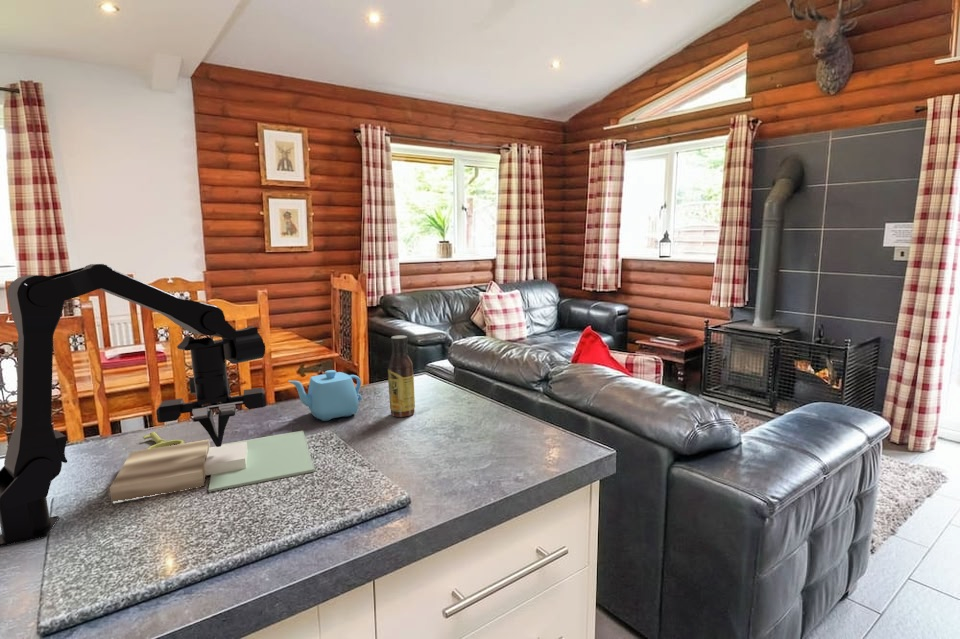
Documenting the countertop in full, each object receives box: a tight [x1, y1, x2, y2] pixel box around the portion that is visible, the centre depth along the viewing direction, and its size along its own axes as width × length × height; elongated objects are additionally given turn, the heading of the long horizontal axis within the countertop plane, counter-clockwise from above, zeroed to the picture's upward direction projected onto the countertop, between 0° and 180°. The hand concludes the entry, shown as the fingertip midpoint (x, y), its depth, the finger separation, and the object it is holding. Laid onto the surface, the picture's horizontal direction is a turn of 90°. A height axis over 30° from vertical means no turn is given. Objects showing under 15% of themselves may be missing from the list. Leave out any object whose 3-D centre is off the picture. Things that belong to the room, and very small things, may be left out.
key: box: [142, 431, 185, 449], centre depth 117 cm, size 7×12×2 cm, turn 64°
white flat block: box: [204, 441, 248, 476], centre depth 105 cm, size 10×7×2 cm
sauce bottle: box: [387, 334, 416, 418], centre depth 131 cm, size 7×6×20 cm
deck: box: [109, 438, 211, 503], centre depth 101 cm, size 18×14×3 cm
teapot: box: [287, 369, 363, 422], centre depth 133 cm, size 12×18×12 cm
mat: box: [208, 430, 315, 493], centre depth 108 cm, size 24×18×1 cm
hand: (219, 446), depth 104 cm, fingers closed
